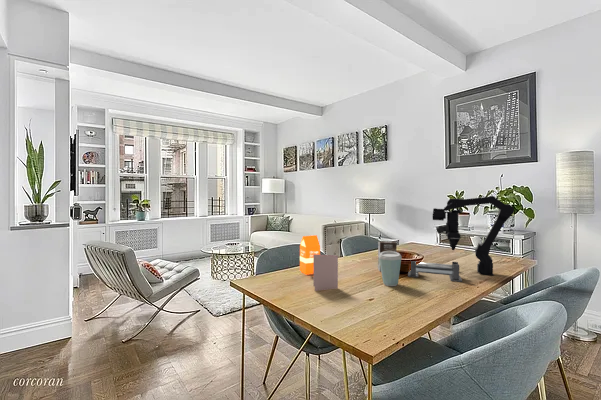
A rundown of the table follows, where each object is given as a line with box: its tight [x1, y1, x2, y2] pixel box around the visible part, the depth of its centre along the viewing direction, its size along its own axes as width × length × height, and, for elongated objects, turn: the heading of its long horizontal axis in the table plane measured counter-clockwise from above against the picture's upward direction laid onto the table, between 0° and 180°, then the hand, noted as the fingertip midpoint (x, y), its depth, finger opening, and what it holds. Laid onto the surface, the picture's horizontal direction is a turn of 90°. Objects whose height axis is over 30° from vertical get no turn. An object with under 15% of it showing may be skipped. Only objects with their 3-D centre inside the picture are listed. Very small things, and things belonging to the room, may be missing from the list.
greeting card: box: [312, 254, 339, 292], centre depth 138 cm, size 11×7×15 cm, turn 74°
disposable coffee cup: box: [377, 251, 403, 287], centre depth 145 cm, size 11×11×15 cm
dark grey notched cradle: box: [407, 260, 463, 283], centre depth 157 cm, size 25×9×8 cm, turn 68°
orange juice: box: [299, 234, 321, 275], centre depth 167 cm, size 8×9×20 cm
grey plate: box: [416, 267, 452, 276], centre depth 169 cm, size 24×11×1 cm, turn 68°
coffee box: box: [377, 240, 398, 272], centre depth 171 cm, size 9×6×16 cm
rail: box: [416, 261, 452, 270], centre depth 172 cm, size 24×3×3 cm
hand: (452, 248), depth 171 cm, fingers open, 9 cm apart
